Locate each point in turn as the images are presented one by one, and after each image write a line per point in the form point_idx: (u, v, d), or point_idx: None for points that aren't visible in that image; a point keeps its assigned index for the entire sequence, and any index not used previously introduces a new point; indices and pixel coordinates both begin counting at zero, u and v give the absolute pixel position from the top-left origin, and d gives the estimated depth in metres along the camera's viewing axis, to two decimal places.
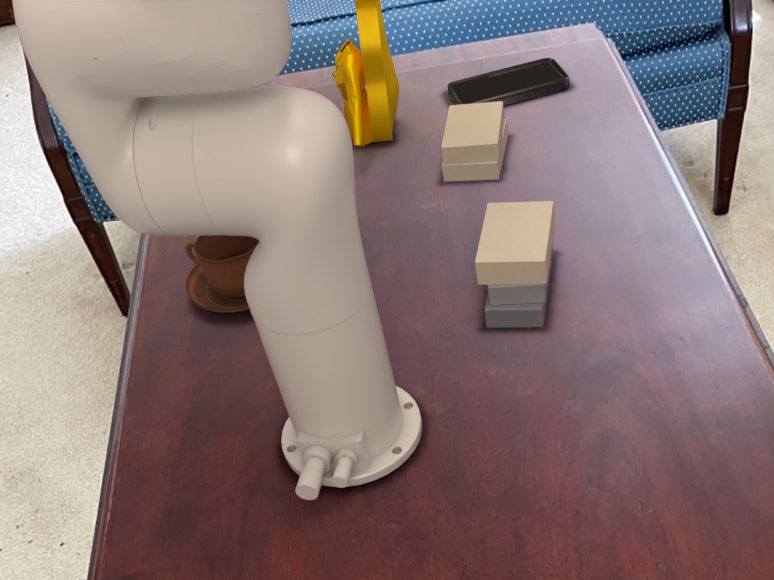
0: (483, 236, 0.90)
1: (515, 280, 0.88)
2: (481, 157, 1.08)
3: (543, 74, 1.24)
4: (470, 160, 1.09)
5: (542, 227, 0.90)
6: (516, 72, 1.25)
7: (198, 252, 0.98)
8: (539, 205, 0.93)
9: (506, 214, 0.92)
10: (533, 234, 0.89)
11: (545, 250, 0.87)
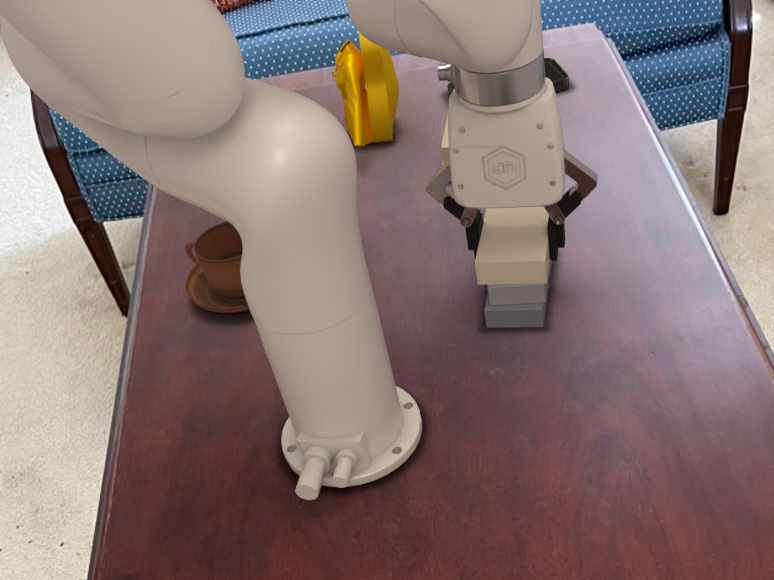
0: (483, 236, 0.90)
1: (515, 280, 0.88)
2: None
3: None
4: None
5: (542, 227, 0.90)
6: None
7: (198, 252, 0.98)
8: None
9: (506, 214, 0.92)
10: (533, 234, 0.89)
11: (545, 250, 0.87)
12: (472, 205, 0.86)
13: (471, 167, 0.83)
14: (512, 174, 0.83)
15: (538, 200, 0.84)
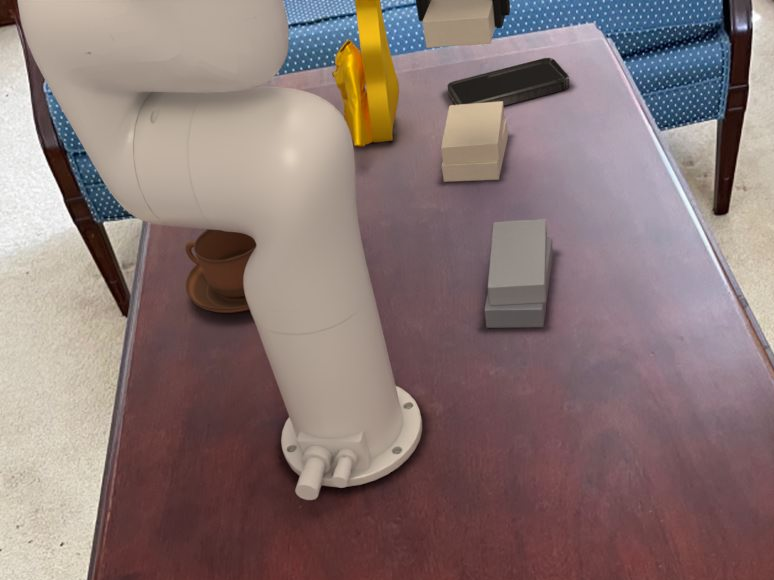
0: (432, 3, 0.95)
1: (461, 41, 0.94)
2: (481, 157, 1.08)
3: (543, 74, 1.24)
4: (470, 160, 1.09)
5: None
6: (516, 72, 1.25)
7: (198, 252, 0.98)
8: None
9: None
10: (478, 0, 0.94)
11: (489, 10, 0.93)
12: None
13: None
14: None
15: None
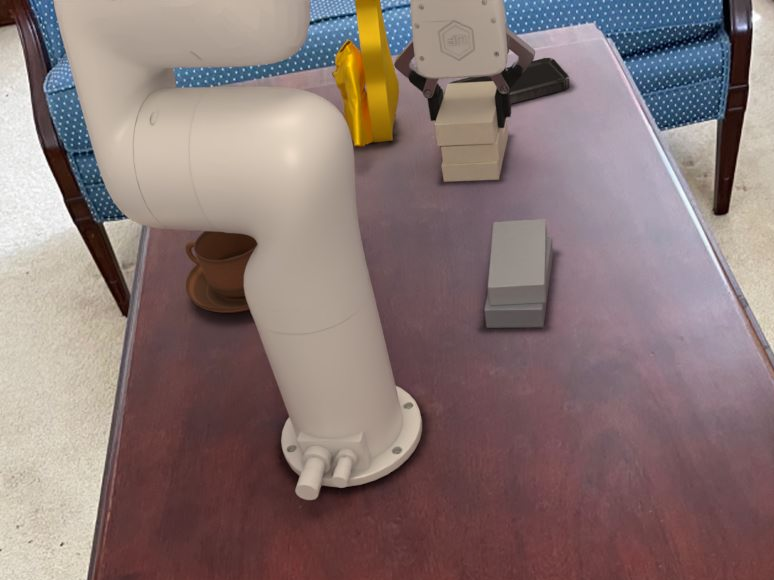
0: (442, 106, 1.08)
1: (468, 141, 1.06)
2: (481, 157, 1.08)
3: (543, 74, 1.24)
4: (470, 160, 1.09)
5: (491, 99, 1.08)
6: None
7: (198, 252, 0.98)
8: (490, 84, 1.11)
9: (462, 91, 1.10)
10: (483, 104, 1.07)
11: (492, 114, 1.05)
12: (431, 75, 1.04)
13: (430, 40, 1.01)
14: (463, 46, 1.01)
15: (485, 69, 1.02)
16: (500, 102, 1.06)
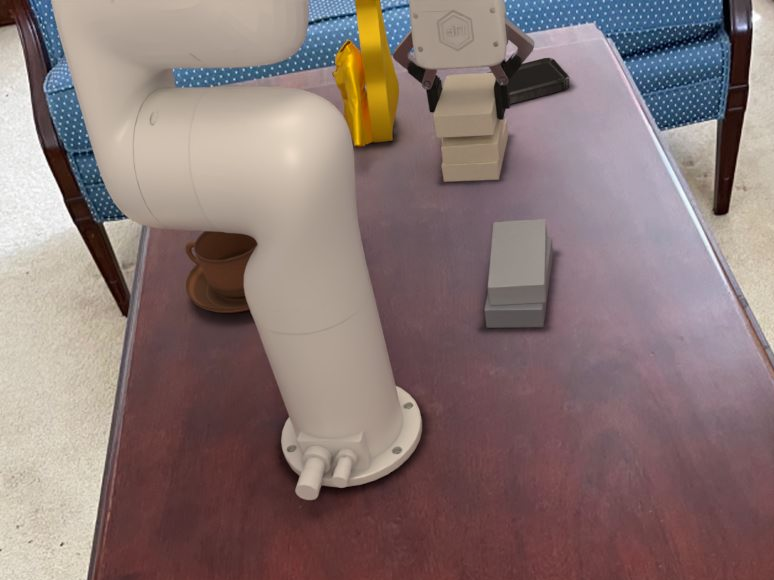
0: (441, 98, 1.08)
1: (467, 132, 1.06)
2: (481, 157, 1.08)
3: (543, 74, 1.24)
4: (470, 160, 1.09)
5: (490, 90, 1.07)
6: (516, 72, 1.25)
7: (198, 252, 0.98)
8: (489, 75, 1.10)
9: (461, 82, 1.10)
10: (482, 95, 1.07)
11: (492, 106, 1.05)
12: (430, 66, 1.03)
13: (428, 31, 1.00)
14: (462, 36, 1.00)
15: (484, 60, 1.02)
16: (499, 93, 1.05)
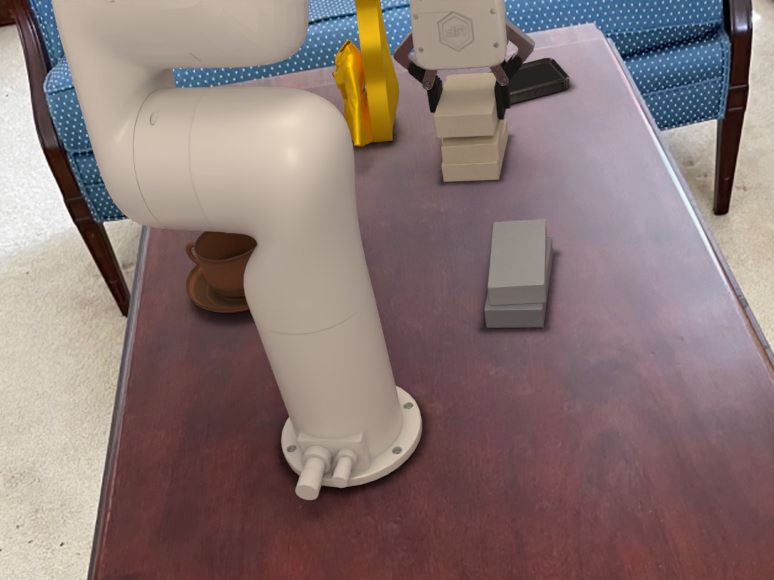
0: (442, 98, 1.08)
1: (468, 132, 1.06)
2: (481, 157, 1.08)
3: (543, 74, 1.24)
4: (470, 160, 1.09)
5: (491, 91, 1.07)
6: (516, 72, 1.25)
7: (198, 252, 0.98)
8: (490, 75, 1.10)
9: (462, 82, 1.10)
10: (483, 95, 1.07)
11: (492, 106, 1.05)
12: (431, 67, 1.03)
13: (429, 31, 1.00)
14: (462, 37, 1.00)
15: (485, 61, 1.02)
16: (499, 94, 1.06)
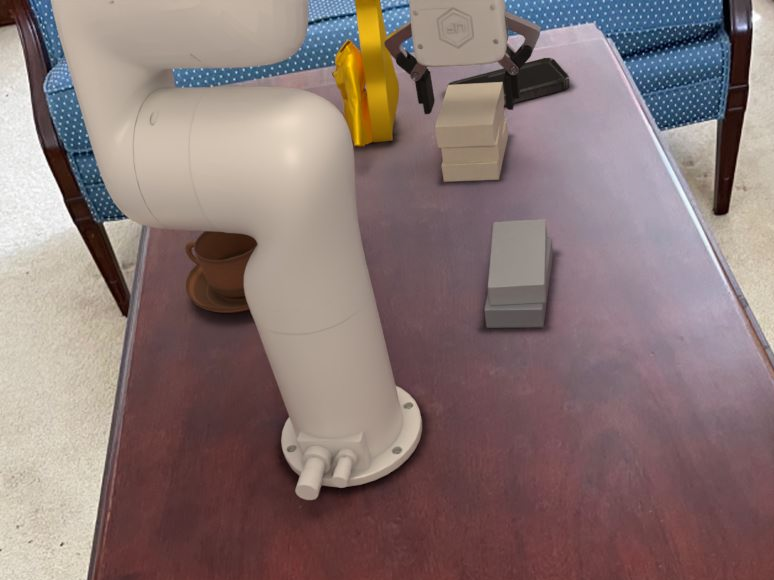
0: (443, 108, 1.08)
1: (468, 143, 1.07)
2: (481, 157, 1.08)
3: (543, 74, 1.24)
4: (470, 160, 1.09)
5: (491, 101, 1.08)
6: None
7: (198, 252, 0.98)
8: (490, 85, 1.11)
9: (463, 92, 1.10)
10: (484, 106, 1.08)
11: (493, 116, 1.06)
12: (430, 63, 1.03)
13: (428, 28, 1.00)
14: (462, 34, 1.00)
15: (484, 57, 1.02)
16: (509, 83, 1.05)
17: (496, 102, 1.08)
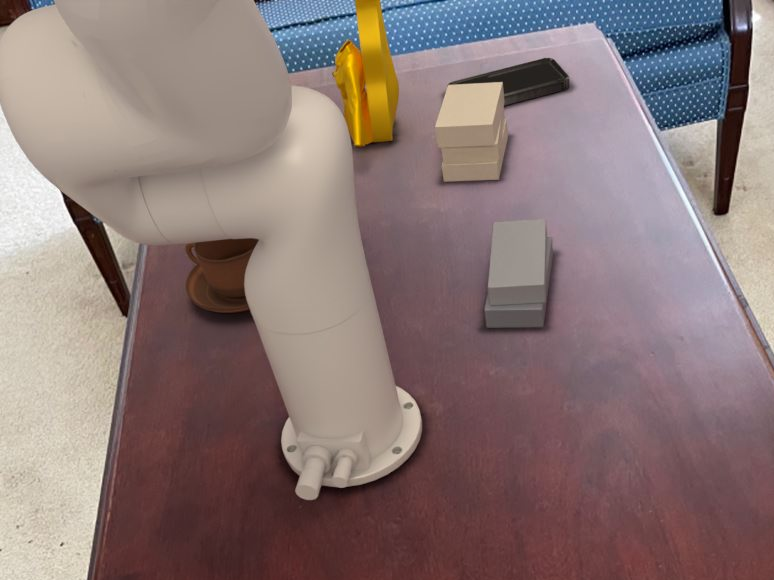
0: (443, 108, 1.08)
1: (468, 143, 1.07)
2: (481, 157, 1.08)
3: (543, 74, 1.24)
4: (470, 160, 1.09)
5: (491, 101, 1.08)
6: (516, 72, 1.25)
7: (198, 252, 0.98)
8: (490, 85, 1.11)
9: (463, 92, 1.10)
10: (484, 106, 1.08)
11: (493, 116, 1.06)
12: None
13: None
14: None
15: None
16: None
17: (496, 102, 1.08)
